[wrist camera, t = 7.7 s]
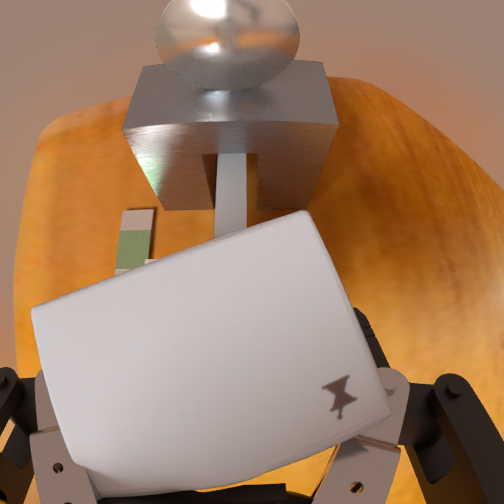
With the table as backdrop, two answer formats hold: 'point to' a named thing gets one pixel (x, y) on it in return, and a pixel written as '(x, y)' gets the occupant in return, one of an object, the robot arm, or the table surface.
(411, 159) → the table surface
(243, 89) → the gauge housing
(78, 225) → the table surface
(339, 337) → the skincare box
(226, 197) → the gauge plunger
